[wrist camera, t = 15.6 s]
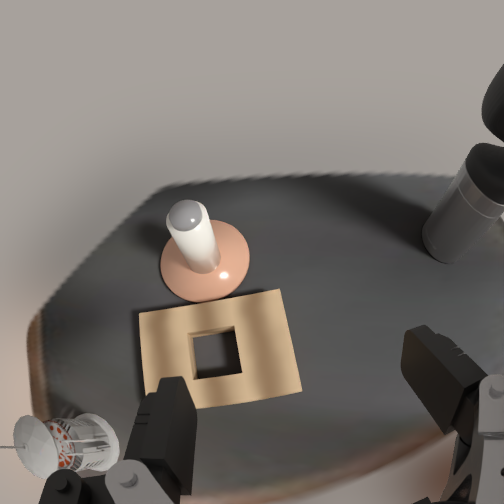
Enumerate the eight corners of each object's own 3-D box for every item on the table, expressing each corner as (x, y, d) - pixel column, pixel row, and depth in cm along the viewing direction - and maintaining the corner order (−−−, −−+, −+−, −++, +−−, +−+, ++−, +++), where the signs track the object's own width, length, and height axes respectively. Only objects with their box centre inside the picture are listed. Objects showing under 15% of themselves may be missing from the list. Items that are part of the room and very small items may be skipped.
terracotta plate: (241, 215, 50) (241, 212, 49) (257, 293, 43) (257, 292, 42) (161, 231, 49) (159, 229, 48) (164, 310, 43) (162, 308, 42)
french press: (63, 414, 35) (-63, 393, 13) (120, 408, 36) (-13, 393, 14) (77, 470, 30) (-46, 483, 8) (137, 470, 31) (14, 508, 9)
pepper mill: (218, 240, 47) (203, 192, 36) (222, 270, 44) (207, 226, 34) (186, 247, 46) (163, 200, 36) (189, 276, 44) (164, 235, 33)
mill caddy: (279, 296, 43) (279, 288, 40) (300, 391, 36) (302, 391, 33) (146, 319, 42) (139, 313, 39) (156, 411, 35) (148, 411, 33)
